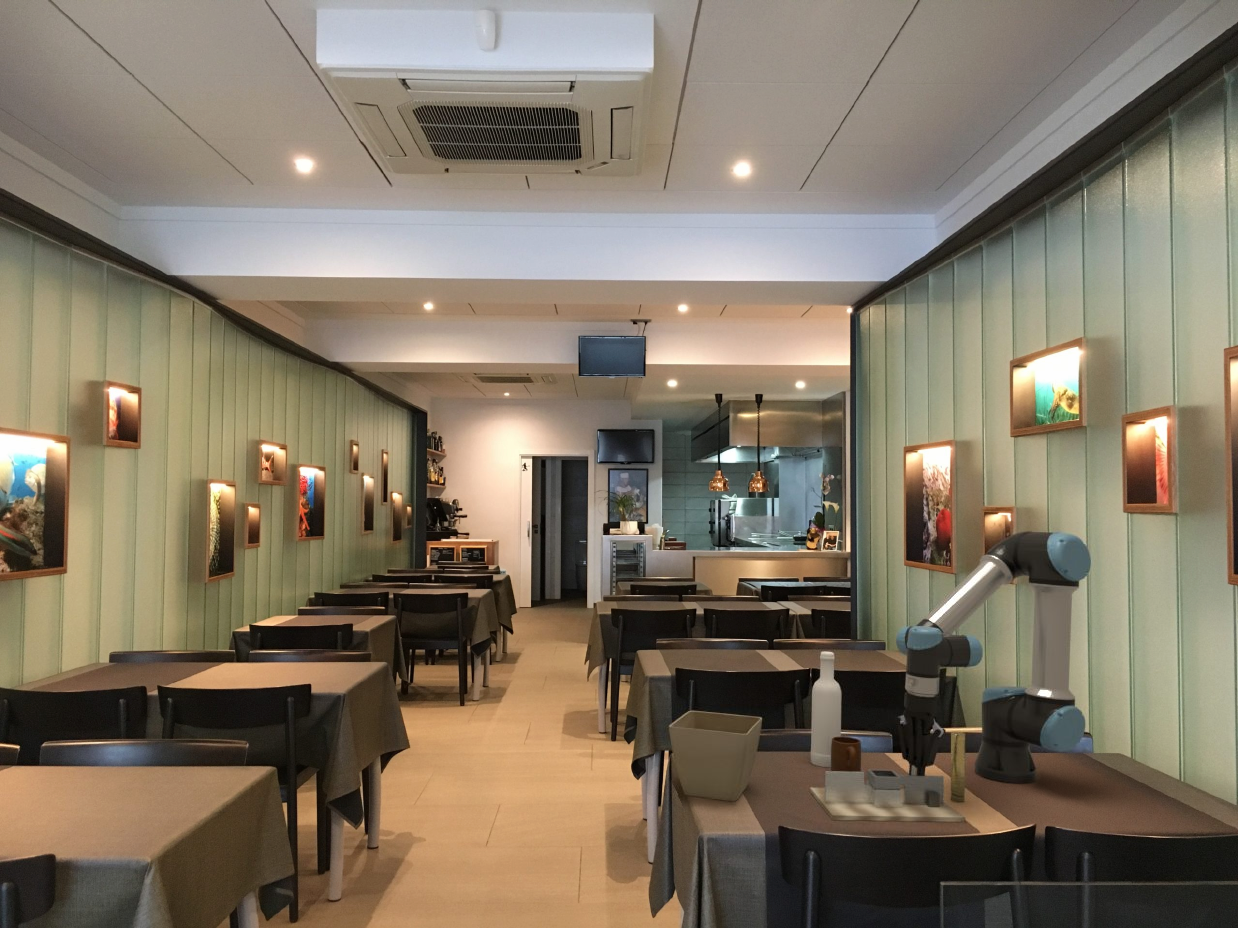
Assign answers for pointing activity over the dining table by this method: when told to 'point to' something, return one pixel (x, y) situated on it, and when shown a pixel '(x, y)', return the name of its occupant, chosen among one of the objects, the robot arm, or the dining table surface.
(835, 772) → the hinge base
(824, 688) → the bottle
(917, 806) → the board
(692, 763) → the flower pot
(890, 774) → the square frame with bar
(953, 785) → the pin
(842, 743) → the mug
